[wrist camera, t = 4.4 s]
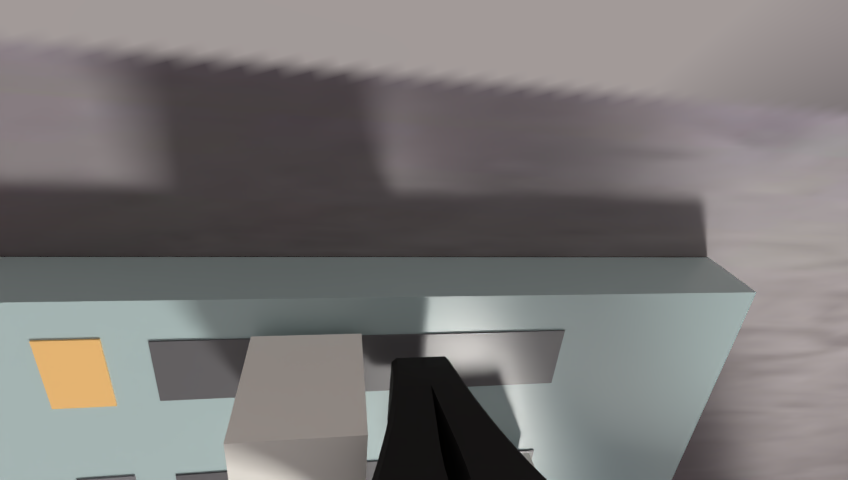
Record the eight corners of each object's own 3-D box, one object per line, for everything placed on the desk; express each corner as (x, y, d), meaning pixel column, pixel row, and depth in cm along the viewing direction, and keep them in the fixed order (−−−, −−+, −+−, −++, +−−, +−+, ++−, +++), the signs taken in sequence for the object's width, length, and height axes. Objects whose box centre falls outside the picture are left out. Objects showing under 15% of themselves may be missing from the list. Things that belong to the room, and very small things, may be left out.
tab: (361, 333, 12) (368, 434, 9) (359, 411, 13) (364, 522, 10) (250, 336, 11) (223, 443, 9) (258, 417, 12) (236, 534, 10)
